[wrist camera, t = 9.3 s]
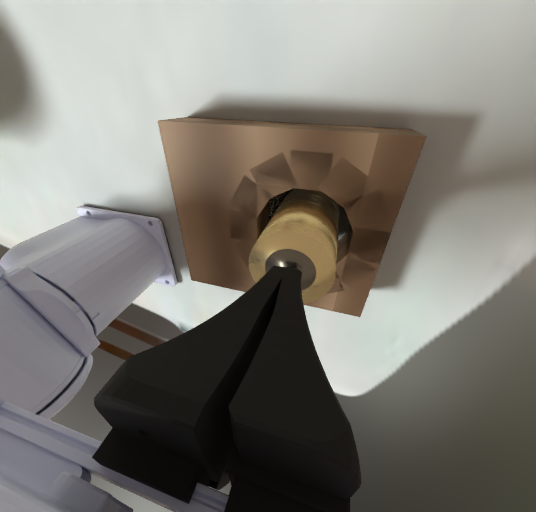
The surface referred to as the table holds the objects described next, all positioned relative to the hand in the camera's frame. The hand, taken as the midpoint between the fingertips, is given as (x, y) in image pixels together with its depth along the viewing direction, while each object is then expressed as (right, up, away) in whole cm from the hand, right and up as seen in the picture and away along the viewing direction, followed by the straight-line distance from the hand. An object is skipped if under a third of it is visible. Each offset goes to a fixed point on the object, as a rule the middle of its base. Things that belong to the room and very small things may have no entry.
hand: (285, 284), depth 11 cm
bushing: (+2, +4, +6) cm, 8 cm away
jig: (0, +5, +7) cm, 8 cm away
